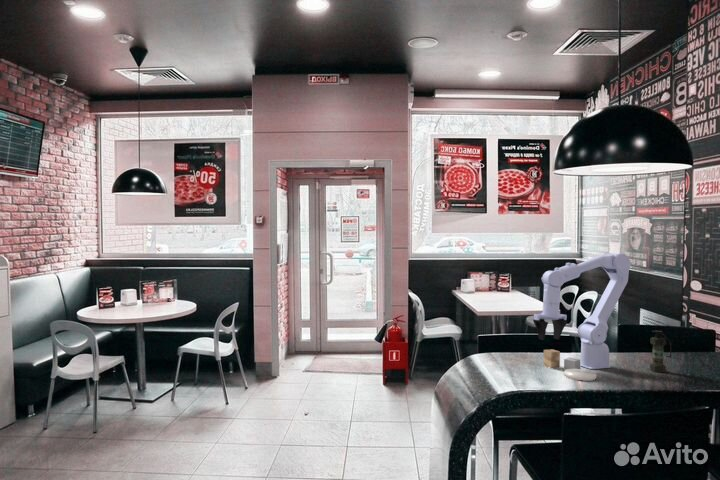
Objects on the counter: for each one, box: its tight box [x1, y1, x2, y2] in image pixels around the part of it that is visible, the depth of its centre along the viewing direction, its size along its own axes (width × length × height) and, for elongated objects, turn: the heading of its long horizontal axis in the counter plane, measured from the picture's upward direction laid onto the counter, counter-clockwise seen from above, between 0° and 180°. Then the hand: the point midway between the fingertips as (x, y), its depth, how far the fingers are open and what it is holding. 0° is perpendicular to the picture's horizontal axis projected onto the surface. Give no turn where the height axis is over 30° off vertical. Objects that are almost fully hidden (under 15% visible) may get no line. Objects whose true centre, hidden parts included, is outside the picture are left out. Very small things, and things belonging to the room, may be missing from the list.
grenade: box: [649, 329, 672, 373], centre depth 173 cm, size 6×6×15 cm
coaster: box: [563, 368, 597, 382], centre depth 165 cm, size 10×10×2 cm
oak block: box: [543, 349, 561, 369], centre depth 178 cm, size 4×4×6 cm
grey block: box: [563, 357, 581, 371], centre depth 174 cm, size 4×4×4 cm
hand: (549, 339), depth 178 cm, fingers open, 7 cm apart
